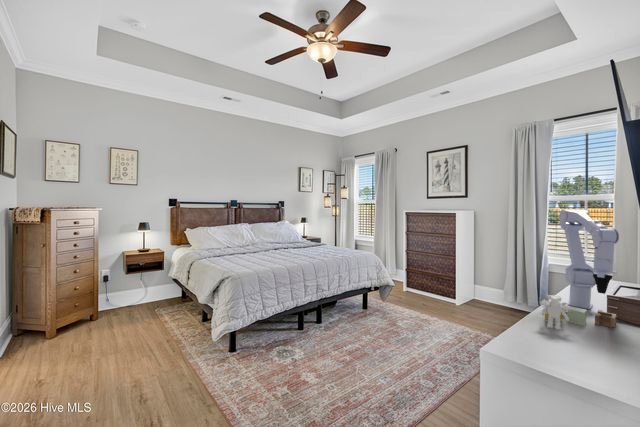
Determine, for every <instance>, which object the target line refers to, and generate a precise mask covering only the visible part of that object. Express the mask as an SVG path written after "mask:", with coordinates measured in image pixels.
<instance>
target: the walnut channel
mask: <svg viewBox="0 0 640 427" xmlns="http://www.w3.org/2000/svg"><path fill="white" fill-rule="evenodd" d="M561 303H562V304H563V306H564V305H565V304H567V303H566V302H561ZM563 310H564V309H563ZM565 311H567V310H565ZM615 323H617V314H616V313H611V312H606V311H603V310H602V309H597V312H595V315H594V326H600V325H601V326H605V327H608V328H613V327H614V328H615V327H616V324H615Z"/></svg>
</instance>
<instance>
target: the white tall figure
mask: <svg viewBox="0 0 640 427" xmlns="http://www.w3.org/2000/svg"><path fill="white" fill-rule="evenodd" d="M547 295H548V296H549V295H550V294H547ZM551 295H552V296H551V297H552V298H553V297H555V298H558V299H559V300H560V301H561V305H562V307H563V304H562V303H563V302H562V297H561V296H558V295H555V294H551ZM552 298H549V297H547V300H546V301H547V303H548V304H549V300H550V299H552ZM546 312H547V311H546ZM563 318H564V316H563V315H562V313H561V315H560V325H562V324H563ZM548 319H549V314H548V312H547V314H546V313H544V321H545V322H547V323H548ZM555 324H556V321H555V318H554V319H553V325H555Z"/></svg>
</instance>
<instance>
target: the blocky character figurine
mask: <svg viewBox="0 0 640 427" xmlns="http://www.w3.org/2000/svg"><path fill="white" fill-rule="evenodd" d="M548 295H549V296H548ZM552 295H553V294H547V293H545V296H546V298H548V297H549V298H552V297H551V296H552ZM547 301H548V300H547V299H543V300H542V299H541V301H540V302H539V306H541V307H542V310H541V313H540V314H541V316H545V313H546V314H547V312H548V314H549V319H548V322H547V325H546V327H547V328H550V329H553V328H554V329H555V330H558V331H561V330H562V326H561V324H560V315H561V313H562V315H563V318H564V319H565V320H566V322H567V321H569V318H568V316H567V314H566V313H568V310H569V311H570V310H571V308H570V306H571V305H567V303H566V304H565V305H564V306H563V307H562V305H561V303H562V300H561V301H560V300H559V299H558V298H555V297H553V298H552V299H550V300H549V304H548V303H547ZM563 309H564V310H563ZM565 310H566V311H565ZM546 311H547V312H546ZM570 312H571V311H570ZM554 318H555V321H556V324H553V319H554ZM553 325H554V327H553Z"/></svg>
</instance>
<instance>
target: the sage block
mask: <svg viewBox="0 0 640 427" xmlns="http://www.w3.org/2000/svg"><path fill="white" fill-rule="evenodd" d="M569 306H570V308H571V310H570V311H571V312H570V311H569V310H567V311H568V312H567V314H566V315H567V316H568V318H569V321H567V320H566V322H567V323H571V324H574V325H579V326H584V327H585V326H586V324H587V316H588V315H587V312H588V311H587V310H588V309H586V308H581V307H576V306H571V305H569Z"/></svg>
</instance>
